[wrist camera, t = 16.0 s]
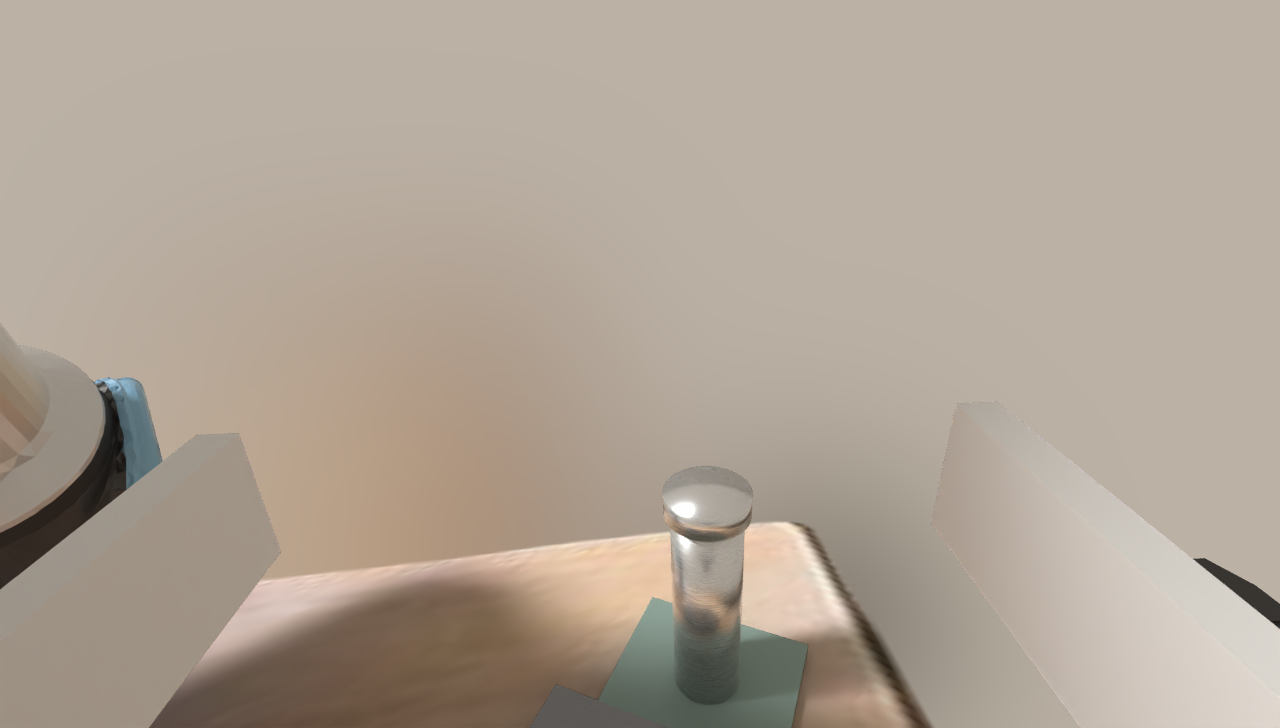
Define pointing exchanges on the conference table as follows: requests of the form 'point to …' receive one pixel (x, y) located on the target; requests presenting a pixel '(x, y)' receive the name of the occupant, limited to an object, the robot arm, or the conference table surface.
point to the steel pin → (707, 578)
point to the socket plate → (584, 713)
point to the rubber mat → (741, 724)
